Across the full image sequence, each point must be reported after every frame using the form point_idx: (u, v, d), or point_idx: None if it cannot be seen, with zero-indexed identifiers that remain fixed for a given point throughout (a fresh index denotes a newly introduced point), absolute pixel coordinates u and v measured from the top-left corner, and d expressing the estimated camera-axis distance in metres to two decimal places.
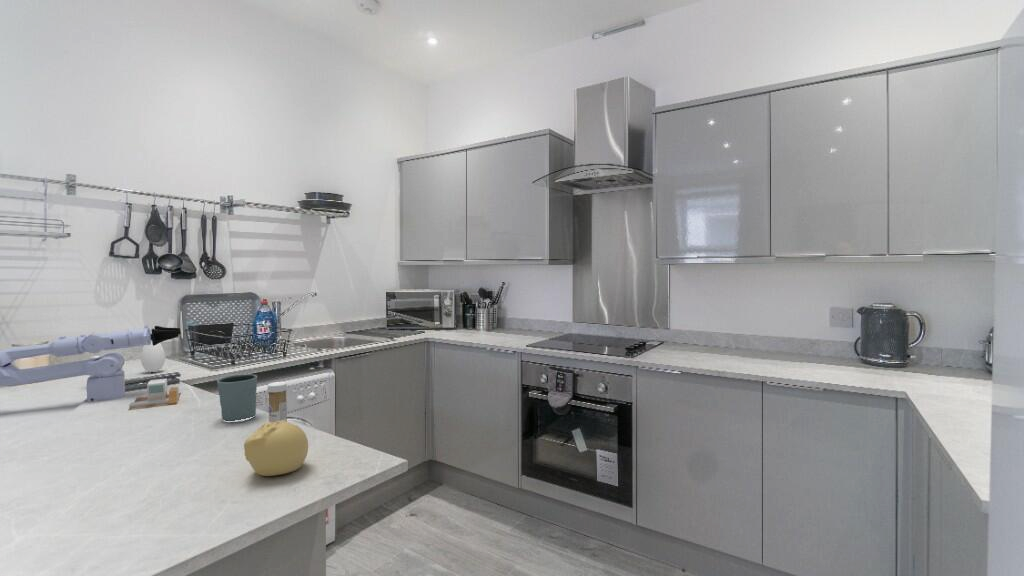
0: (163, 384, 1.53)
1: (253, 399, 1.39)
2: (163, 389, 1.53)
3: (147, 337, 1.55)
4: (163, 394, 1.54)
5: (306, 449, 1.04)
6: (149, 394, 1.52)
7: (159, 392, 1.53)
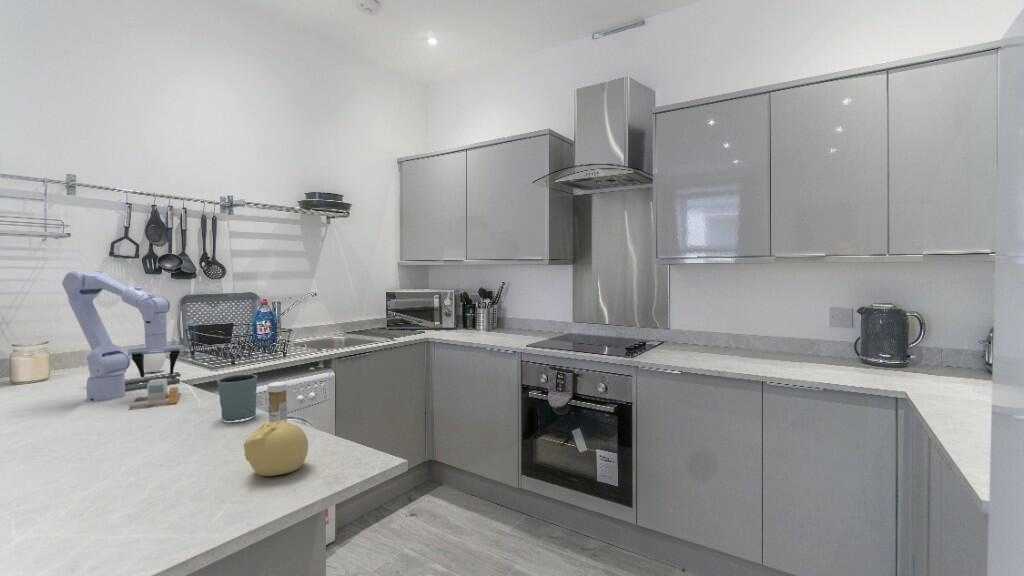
0: (163, 384, 1.53)
1: (253, 399, 1.39)
2: (163, 389, 1.53)
3: None
4: (163, 394, 1.54)
5: (306, 449, 1.04)
6: (149, 394, 1.52)
7: (159, 392, 1.53)
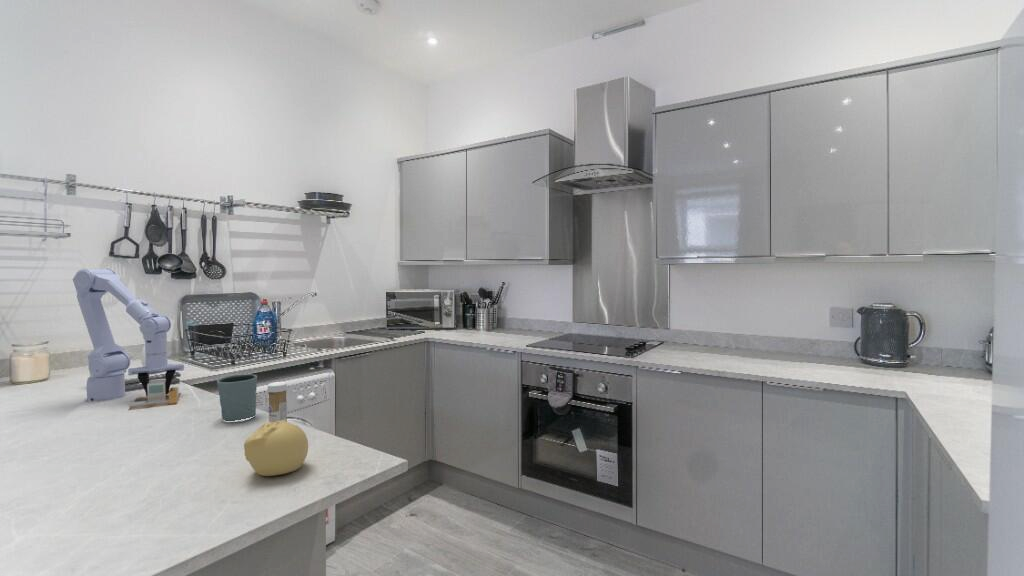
0: (163, 384, 1.53)
1: (253, 399, 1.39)
2: (163, 389, 1.53)
3: None
4: (163, 394, 1.54)
5: (306, 449, 1.04)
6: (149, 394, 1.52)
7: (159, 392, 1.53)
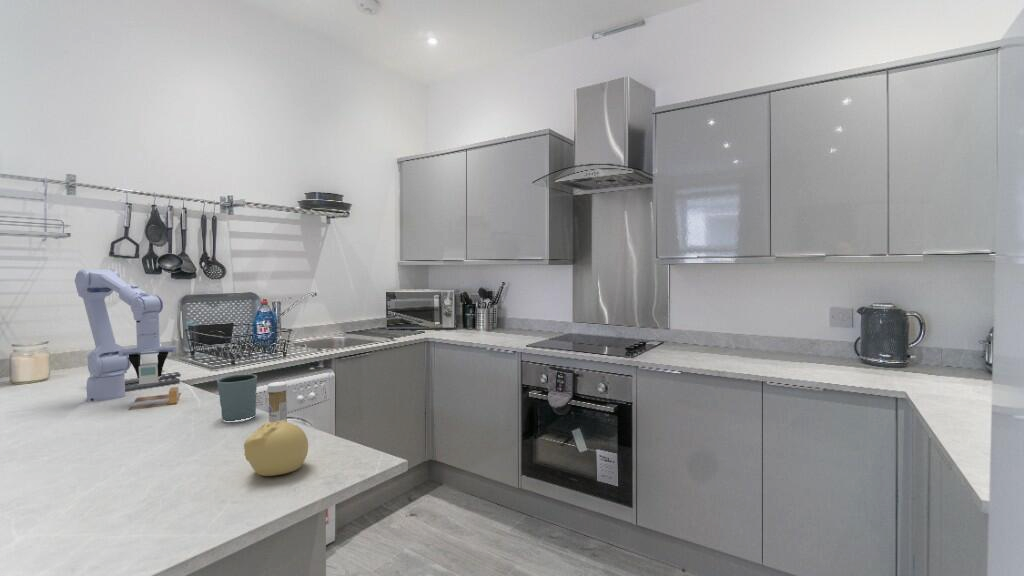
0: (155, 366, 1.48)
1: (253, 399, 1.39)
2: (155, 371, 1.48)
3: None
4: (156, 377, 1.48)
5: (306, 449, 1.04)
6: (141, 377, 1.46)
7: (151, 375, 1.47)
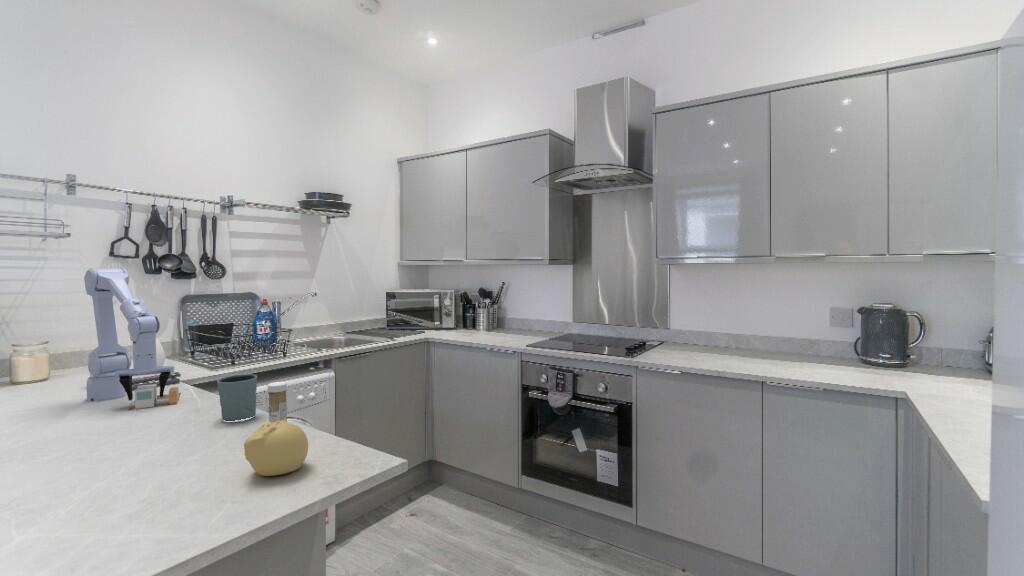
0: (152, 390, 1.46)
1: (253, 399, 1.39)
2: (151, 395, 1.46)
3: None
4: (152, 401, 1.46)
5: (306, 449, 1.04)
6: (137, 401, 1.44)
7: (147, 399, 1.45)
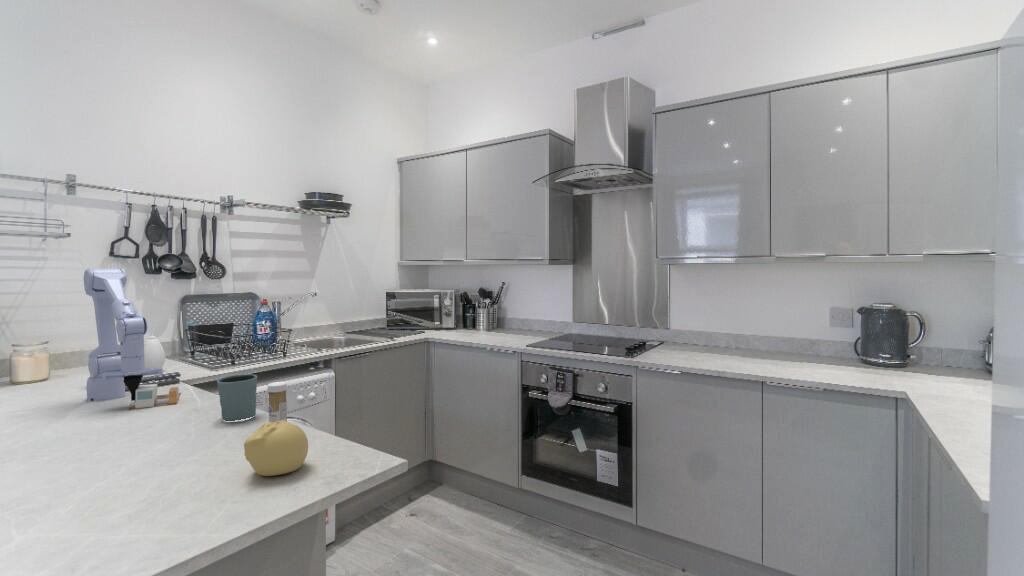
0: (152, 390, 1.46)
1: (253, 399, 1.39)
2: (152, 395, 1.46)
3: None
4: (152, 401, 1.46)
5: (306, 449, 1.04)
6: (137, 400, 1.44)
7: (148, 399, 1.45)
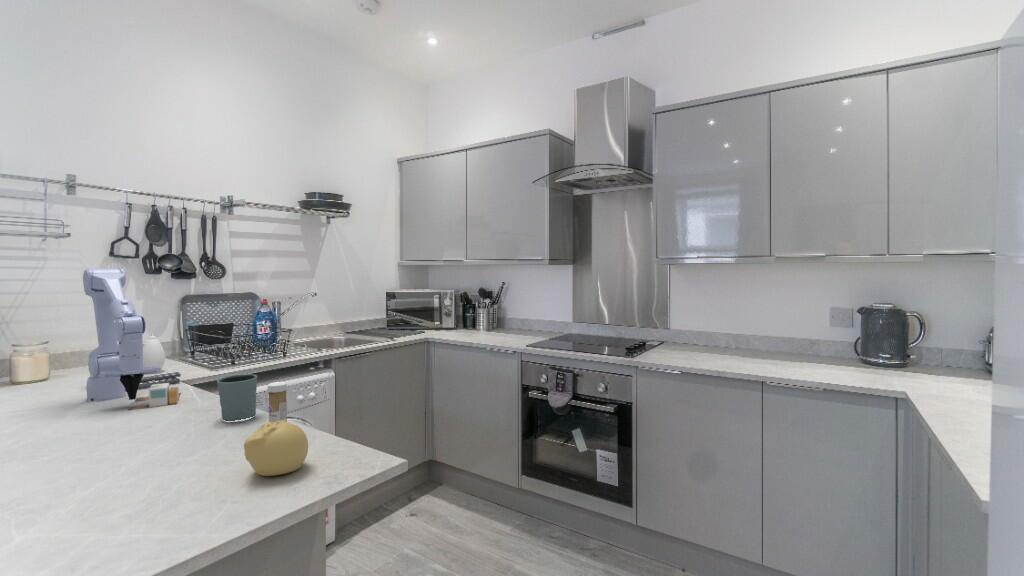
0: (165, 389, 1.47)
1: (253, 399, 1.39)
2: (165, 394, 1.47)
3: None
4: (166, 399, 1.47)
5: (306, 449, 1.04)
6: (151, 399, 1.46)
7: (161, 397, 1.47)
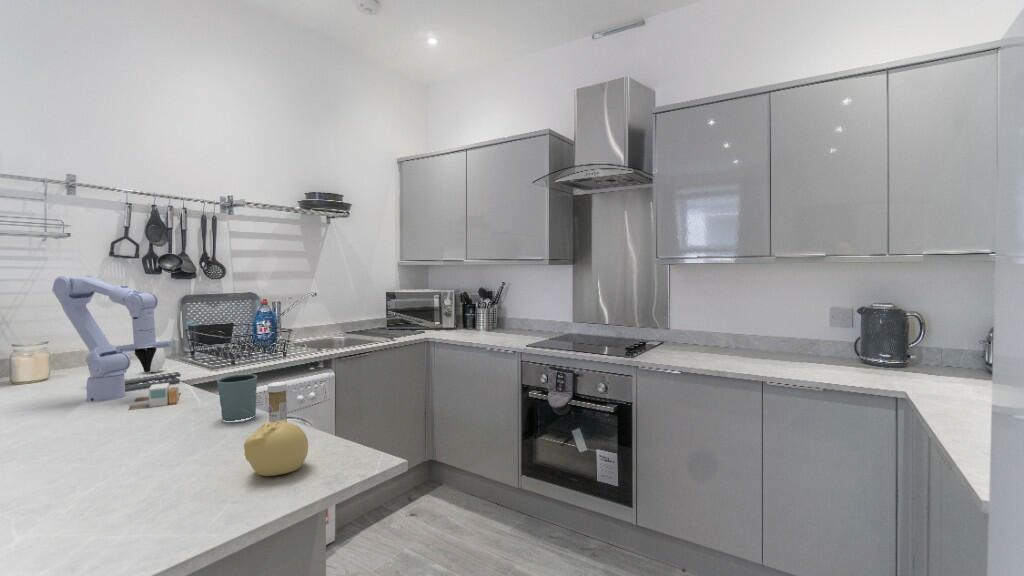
0: (165, 389, 1.47)
1: (253, 399, 1.39)
2: (165, 394, 1.47)
3: None
4: (166, 399, 1.47)
5: (306, 449, 1.04)
6: (151, 399, 1.46)
7: (161, 397, 1.47)
